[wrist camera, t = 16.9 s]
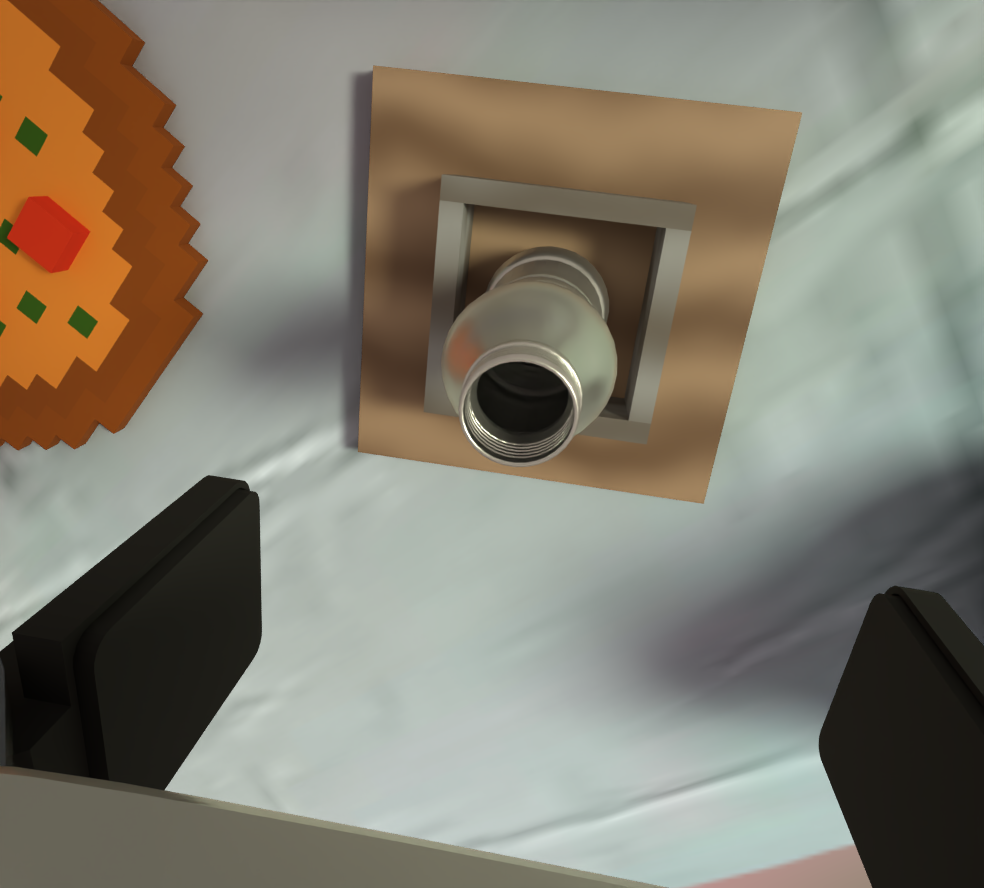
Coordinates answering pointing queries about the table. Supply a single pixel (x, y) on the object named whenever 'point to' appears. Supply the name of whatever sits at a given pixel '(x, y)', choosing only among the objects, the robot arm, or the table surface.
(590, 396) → the plastic bottle
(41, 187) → the pizza
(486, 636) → the table surface
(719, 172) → the collar board
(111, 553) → the robot arm
